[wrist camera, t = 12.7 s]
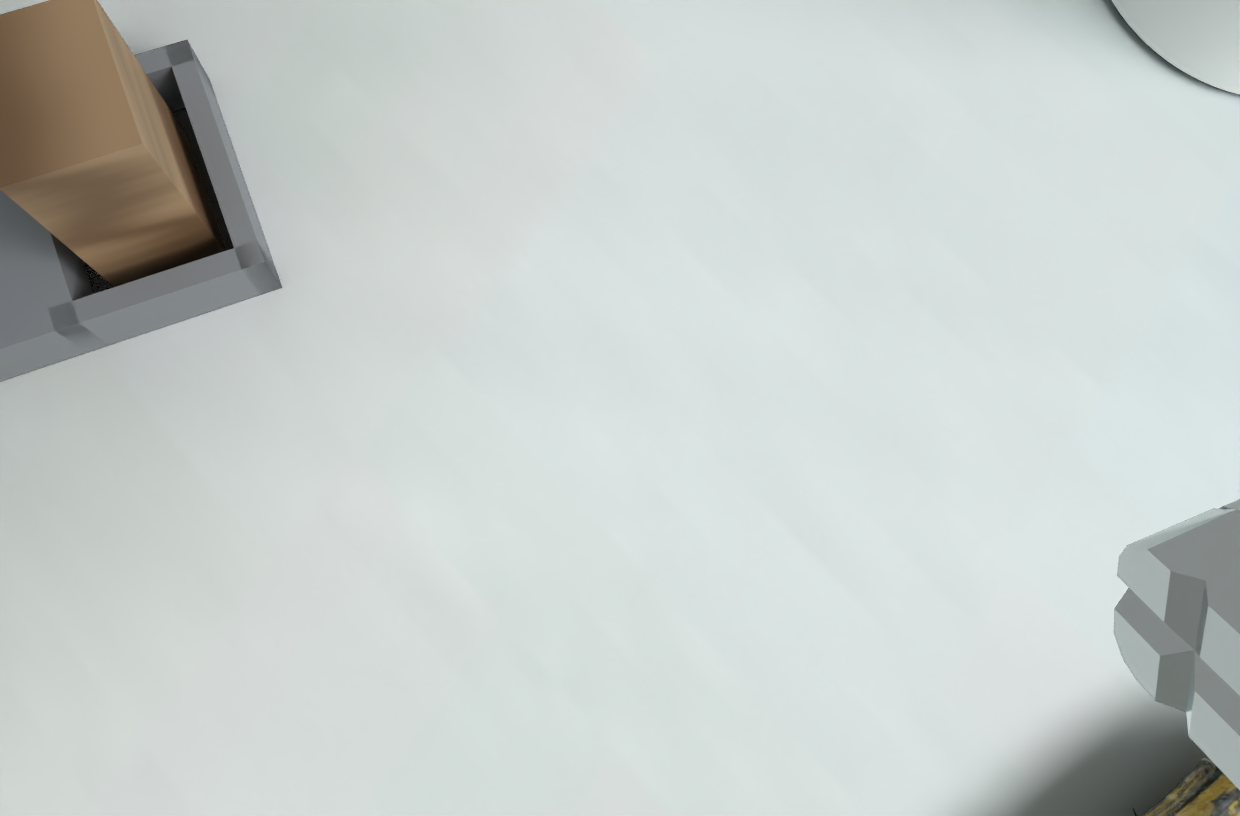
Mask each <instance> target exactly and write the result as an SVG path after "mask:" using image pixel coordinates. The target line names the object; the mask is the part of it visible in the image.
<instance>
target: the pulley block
mask: <svg viewBox="0 0 1240 816" xmlns="http://www.w3.org/2000/svg"><path fill="white" fill-rule="evenodd" d="M1132 807H1133V806H1132ZM1133 811H1134V808H1133ZM1134 815H1135V816H1138V815H1136V813H1135V811H1134ZM1143 816H1240V790H1239V789H1238V788H1237V787H1236V786H1235V785H1234V784H1233V783H1232V782H1231V781H1230V780H1229V779H1228V777H1227V776H1226V775H1225V774H1224V773H1223V772H1222V771H1221V770H1220V769H1219V768H1218V767H1217V766H1216V765H1215V764H1214V763H1213V762H1212V761H1211V760H1210V759H1209V757H1208V756H1206V757H1204V758H1202V759H1201V760H1200V762H1199V763H1198V765H1197V766H1196V768H1195V769H1194V770H1193V771H1191V772H1190V773H1189V774H1188V775H1186V776H1185V777H1184V778H1183V779H1182V781H1181V782H1180V783H1179V784H1178V786H1177V787H1176V788H1175V789H1174V790H1172V791H1171V792H1170V793H1169V794H1168V795H1167V796H1166V797H1164V798H1163V799H1162V800H1161V801H1160V802H1158V803H1157V804H1156V805H1155V806H1154V807H1152V808H1151V809H1150V810H1149V811H1147V812H1146V813H1145V814H1144V815H1143Z"/></svg>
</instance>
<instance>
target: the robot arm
mask: <svg viewBox="0 0 1240 816" xmlns="http://www.w3.org/2000/svg"><path fill="white" fill-rule="evenodd" d="M1112 2H1113V4H1114V5H1115V7H1116V8H1117V10H1118V11H1119V13H1120V14H1121V15H1122V17H1123V18H1124V19H1125V21H1126V22H1127V23H1128V24H1129V26H1130V27H1131V28H1132V29H1133V30H1134V31H1135V32H1136V34H1137V35H1138V36H1139V37H1140V38H1141V39H1142V40H1143V41H1144V42H1145V43H1146V44H1147V45H1148V46H1150V47H1151V48H1152V49H1153V50H1154V51H1155V52H1156V53H1158V54H1159V55H1160V56H1161V57H1163V58H1164V59H1165V60H1167V61H1168V62H1169V63H1171V64H1172V65H1174V66H1175V67H1177V68H1178V69H1180V70H1182V71H1183V72H1185V73H1187V74H1189V75H1190V76H1192V77H1194V78H1196V79H1198V80H1200V81H1202V82H1205V83H1207V84H1209V85H1212V86H1214V87H1217V88H1220V89H1222V90H1225V91H1229V92H1232V93H1236V94H1240V0H1112ZM1117 576H1118V577H1119V578H1120V579H1121V580H1122V581H1123V582H1124V583H1125V584H1126V585H1127V586H1128V587H1129V588H1128V590H1127V591H1126V593H1125V594H1124V596H1123V597H1122V598H1121V600H1120V601H1119V603H1118V604H1117V606H1116V607H1115V609H1114V635H1115V638H1116V641H1117V644H1118V647H1119V649H1120V652H1121V655H1122V658H1123V660H1124V662H1125V663H1126V665H1127V666H1128V668H1129V669H1130V671H1131V673H1132V674H1133V676H1134V677H1135V679H1136V680H1137V681H1138V682H1139V684H1140V685H1141V686H1142V687H1143V688H1144V689H1145V690H1146V691H1147V692H1148V693H1149V695H1150V696H1151V697H1152V698H1153V699H1154V700H1155V701H1157V702H1160V703H1163V704H1166V705H1168V706H1171V707H1174V708H1176V709H1179V710H1182V711H1184V712H1186V716H1187V726H1188V736H1189V737H1190V739H1191V740H1192V741H1193V742H1194V743H1195V744H1196V745H1197V746H1198V747H1199V748H1200V749H1201V750H1202V751H1203V752H1204V753H1205V754H1206V755H1207V756H1208V757H1209V759H1210V760H1211V761H1212V762H1213V763H1214V764H1215V765H1216V766H1217V767H1218V768H1219V769H1220V770H1221V771H1222V772H1223V773H1224V774H1225V775H1226V776H1227V777H1228V779H1229V780H1230V781H1231V782H1232V783H1233V784H1234V785H1235V786H1236V787H1237V788H1238V789H1239V790H1240V499H1239V500H1237V501H1234V502H1232V503H1230V504H1227V505H1225V506H1223V507H1221V508H1219V509H1211V510H1209V511H1206V512H1204V513H1202V514H1199V515H1197V516H1195V517H1192V518H1190V519H1188V520H1185V521H1183V522H1181V523H1178V524H1176V525H1174V526H1171V527H1169V528H1167V529H1164V530H1162V531H1160V532H1157V533H1155V534H1153V535H1150V536H1148V537H1146V538H1143V539H1141V540H1139V541H1136V542H1134V543H1132V544H1129V545H1127V546H1126V548H1125V549H1124V550H1123V552H1122V553H1121V554H1120V556H1119V562H1118V572H1117Z"/></svg>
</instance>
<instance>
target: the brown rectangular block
mask: <svg viewBox="0 0 1240 816" xmlns="http://www.w3.org/2000/svg"><path fill="white" fill-rule="evenodd" d="M0 190H1V191H3V192H4V193H5V194H6V195H7V196H8V197H10V198H11V199H12V200H13V201H14V202H15V203H17V204H18V205H19V206H20V207H21V208H22V209H24V210H25V211H26V212H27V213H28V214H29V215H31V216H32V217H33V218H34V219H35V220H36V221H38V222H39V223H40V224H41V225H42V226H44V227H45V228H46V229H47V230H48V231H49V232H51V233H52V234H53V235H54V236H55V237H56V238H58V239H59V240H60V241H61V242H62V243H63V244H65V245H66V246H67V247H68V248H69V249H70V250H72V251H73V252H74V253H75V254H76V255H77V256H79V257H80V258H81V259H82V260H83V261H84V262H86V263H87V264H88V265H89V266H90V267H91V268H93V269H94V270H95V271H96V272H97V273H98V274H100V275H101V276H102V277H103V278H104V279H105V280H107V281H108V282H109V283H110V284H111V285H113V286H114V287H116V286H120V285H123V284H126V283H129V282H132V281H135V280H138V279H141V278H144V277H147V276H150V275H153V274H156V273H159V272H162V271H165V270H169V269H172V268H175V267H178V266H181V265H184V264H187V263H190V262H193V261H196V260H199V259H202V258H205V257H208V256H211V255H214V254H218V253H221V252H224V251H227V249H226V246H225V243H224V240H223V238H222V235H221V232H220V229H219V226H218V223H217V220H216V217H215V214H214V212H213V209H212V206H211V203H210V200H209V197H208V194H207V191H206V189H205V186H204V183H203V180H202V177H201V174H200V171H199V168H198V166H197V163H196V160H195V157H194V154H193V151H192V148H191V145H190V143H189V140H188V137H187V134H186V133H185V131H184V130H183V128H182V127H181V125H180V124H179V122H178V121H177V119H176V118H175V116H174V115H173V113H172V112H171V110H170V109H169V107H168V106H167V104H166V103H165V101H164V100H163V98H162V97H161V95H160V94H159V92H158V91H157V89H156V88H155V86H154V85H153V83H152V82H151V80H150V79H149V77H148V76H147V74H146V73H145V71H144V70H143V68H142V67H141V65H140V64H139V62H138V61H137V59H136V58H135V56H134V55H133V53H132V52H131V50H130V49H129V47H128V46H127V44H126V43H125V41H124V40H123V38H122V37H121V35H120V34H119V32H118V31H117V29H116V28H115V26H114V25H113V23H112V22H111V20H110V19H109V17H108V16H107V14H106V13H105V11H104V10H103V8H102V7H101V5H100V4H99V2H98V1H97V0H49V1H46V2H43V3H39V4H36V5H32V6H29V7H25V8H22V9H18V10H15V11H12V12H8V13H5V14H1V15H0Z"/></svg>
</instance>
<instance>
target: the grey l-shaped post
mask: <svg viewBox="0 0 1240 816" xmlns="http://www.w3.org/2000/svg"><path fill="white" fill-rule="evenodd" d="M134 56H135V58H136V59H137V61H138V62H139V64H140V65H141V67H142V68H143V70H144V71H145V73H146V74H147V76H148V77H149V79H150V80H151V82H152V83H153V85H154V86H155V88H156V89H157V91H158V92H159V94H160V95H161V97H162V98H163V100H164V101H165V103H166V104H167V106H168V107H169V109H170V110H171V112H173V111H176V110H180V109H183V108H186V110H187V113H188V116H189V119H190V122H191V124H192V127H193V130H194V133H195V136H196V139H197V142H198V145H199V148H200V151H201V153H202V156H203V159H204V162H205V165H206V168H207V171H208V174H209V177H210V180H211V182H212V185H213V188H214V191H215V194H216V197H217V200H218V203H219V206H220V209H221V211H222V214H223V217H224V220H225V223H226V226H227V229H228V232H229V235H230V238H231V240H232V243H233V246H234V248H233V249H230V250H227V251H224V252H221V253H218V254H214V255H211V256H208V257H205V258H202V259H199V260H196V261H193V262H190V263H187V264H184V265H181V266H178V267H175V268H172V269H169V270H165V271H162V272H159V273H156V274H153V275H150V276H147V277H144V278H141V279H138V280H135V281H132V282H129V283H126V284H123V285H120V286H116V287H113V288H110V289H107V290H104V291H101V292H98V293H95V294H94V293H93V290H92V287H91V284H90V281H89V278H88V275H87V272H86V268H85V265H84V262H83V260H82V259H81V258H80V257H79V256H77V255H76V254H75V253H74V252H73V251H72V250H70V249H69V248H68V247H67V246H66V245H65V244H63V243H62V242H61V241H60V240H59V239H58V238H56V237H55V236H54V235H53V234H52V233H51V232H49V231H48V230H47V229H46V228H45V227H44V226H42V225H41V224H40V223H39V222H38V221H36V220H35V219H34V218H33V217H32V216H31V215H29V214H28V213H27V212H26V211H25V210H24V209H22V208H21V207H20V206H19V205H18V204H17V203H15V202H14V201H13V200H12V199H11V198H10V197H8V196H7V195H6V194H5V193H4V192H3V191H1V190H0V382H1V381H4V380H7V379H10V378H13V377H16V376H19V375H22V374H25V373H28V372H31V371H34V370H37V369H40V368H43V367H46V366H49V365H52V364H55V363H58V362H61V361H64V360H67V359H70V358H73V357H76V356H79V355H82V354H85V353H88V352H91V351H94V350H97V349H100V348H103V347H106V346H108V345H111V344H114V343H117V342H120V341H123V340H126V339H129V338H132V337H135V336H138V335H141V334H144V333H147V332H150V331H153V330H156V329H159V328H162V327H165V326H168V325H171V324H174V323H177V322H180V321H183V320H186V319H189V318H192V317H195V316H198V315H201V314H204V313H207V312H210V311H213V310H216V309H219V308H222V307H225V306H228V305H231V304H234V303H237V302H240V301H243V300H246V299H249V298H252V297H255V296H258V295H261V294H264V293H267V292H270V291H273V290H276V289H279V288H282V286H281V283H280V280H279V277H278V274H277V271H276V268H275V266H274V263H273V260H272V257H271V254H270V251H269V248H268V246H267V243H266V240H265V237H264V234H263V231H262V228H261V226H260V223H259V220H258V217H257V214H256V211H255V208H254V205H253V203H252V200H251V197H250V194H249V191H248V188H247V185H246V183H245V180H244V177H243V174H242V171H241V168H240V165H239V163H238V160H237V157H236V154H235V151H234V148H233V145H232V143H231V140H230V137H229V134H228V131H227V128H226V125H225V123H224V120H223V117H222V114H221V111H220V108H219V105H218V103H217V100H216V97H215V94H214V91H213V88H212V85H211V83H210V80H209V78H208V76H207V74H206V72H205V71H204V69H203V67H202V65H201V64H200V62H199V60H198V58H197V56H196V55H195V53H194V51H193V49H192V47H191V46H190V44H189V42H188V40H184V41H181V42H177V43H174V44H171V45H167V46H164V47H161V48H157V49H154V50H151V51H147V52H144V53H140V54H137V55H134Z"/></svg>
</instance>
